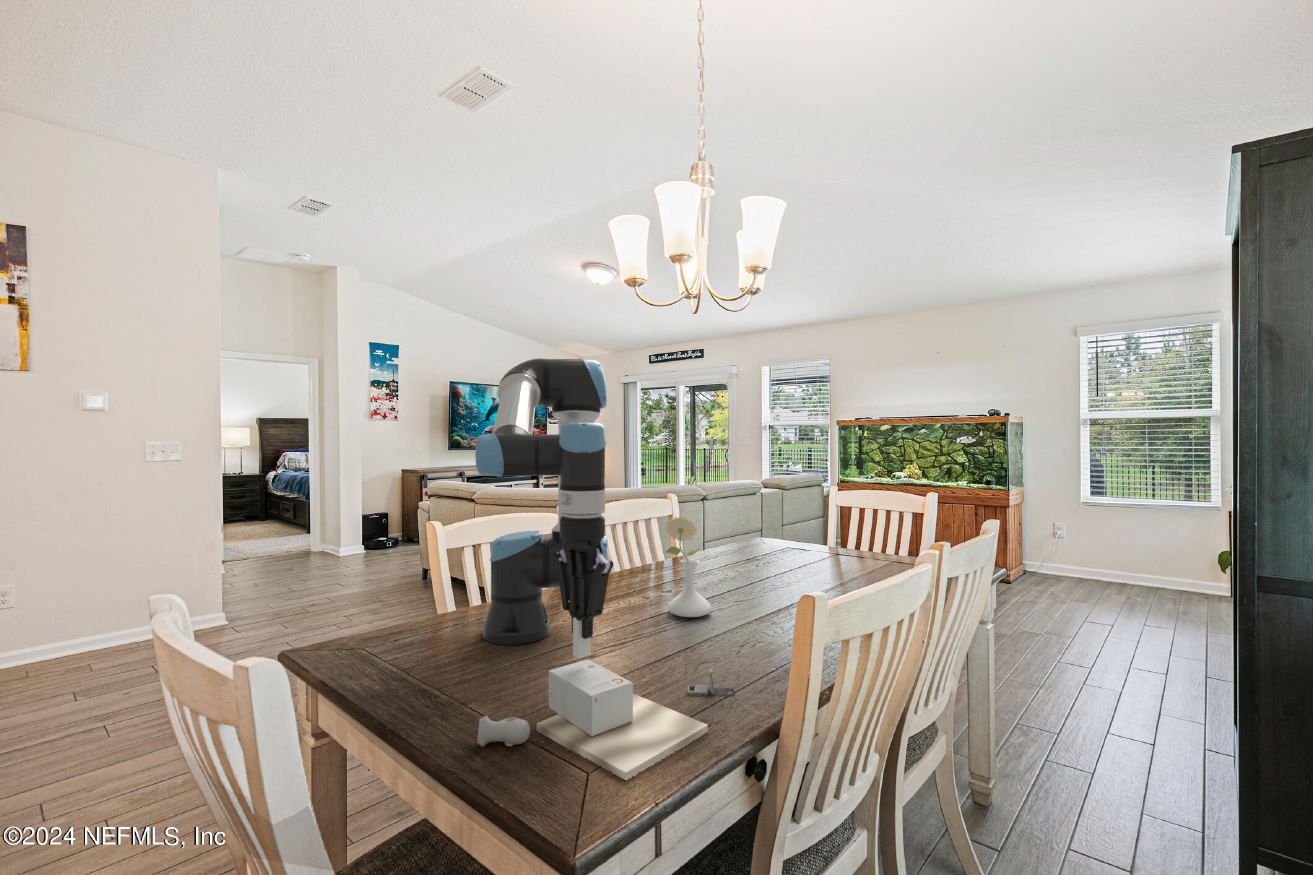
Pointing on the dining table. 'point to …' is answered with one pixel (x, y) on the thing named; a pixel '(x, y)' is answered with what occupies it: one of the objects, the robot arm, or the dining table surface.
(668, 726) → the birch board
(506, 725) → the smooth white sculpture
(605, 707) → the small box
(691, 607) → the flower in vase
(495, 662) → the dining table surface
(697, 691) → the strap clip
